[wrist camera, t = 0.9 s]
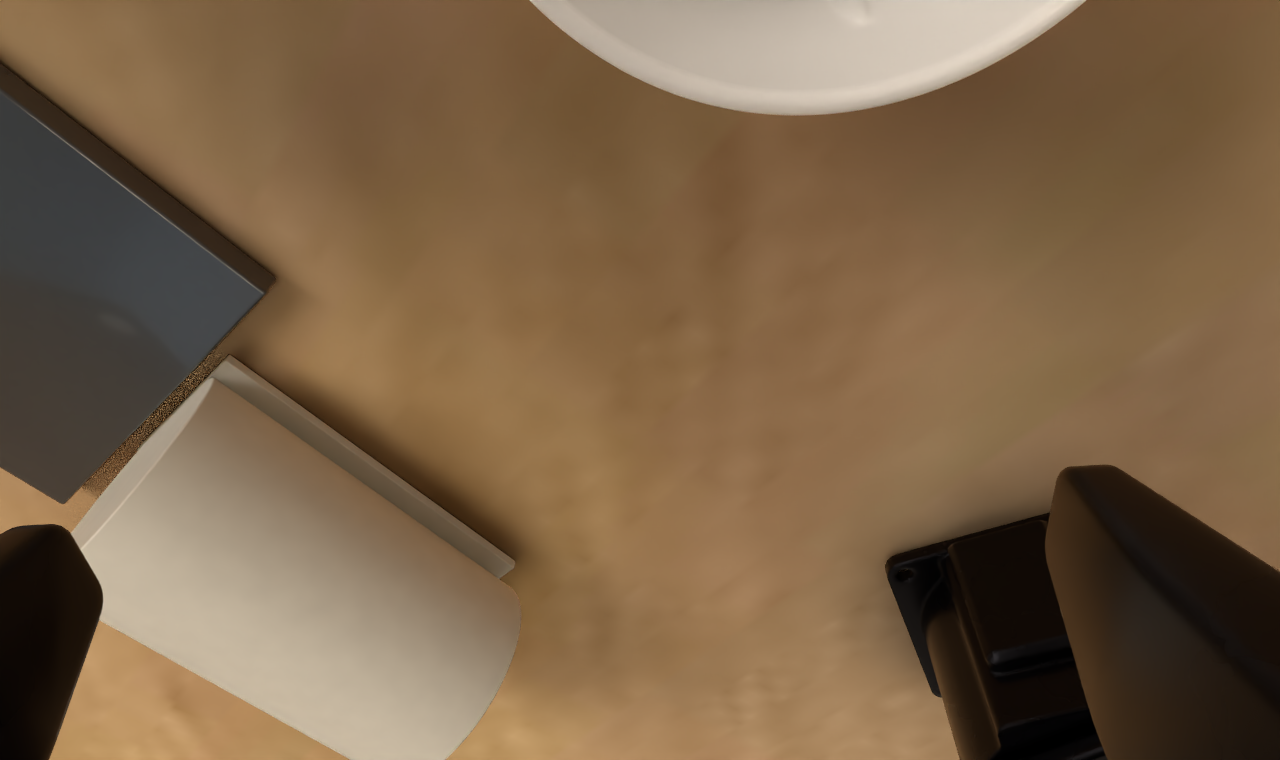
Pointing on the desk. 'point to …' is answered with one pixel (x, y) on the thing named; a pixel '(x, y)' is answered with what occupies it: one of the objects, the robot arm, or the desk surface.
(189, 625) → the cylinder
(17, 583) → the robot arm
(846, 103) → the white cup
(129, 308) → the slate coaster
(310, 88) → the desk surface
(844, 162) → the desk surface
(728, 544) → the desk surface
